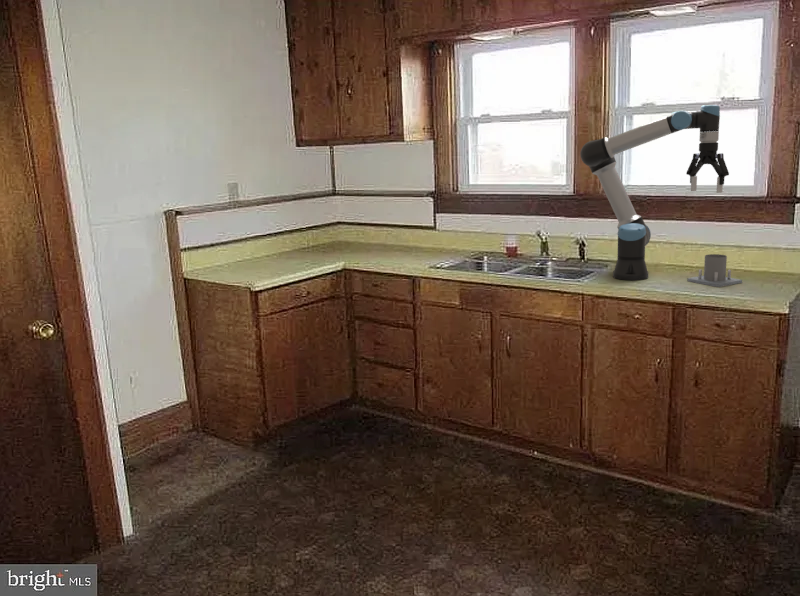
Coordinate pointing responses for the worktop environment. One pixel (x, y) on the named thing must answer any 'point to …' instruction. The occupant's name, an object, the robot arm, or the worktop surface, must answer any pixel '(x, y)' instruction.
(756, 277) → the worktop surface
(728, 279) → the grey pegged base plate
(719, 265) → the cup
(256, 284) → the worktop surface
